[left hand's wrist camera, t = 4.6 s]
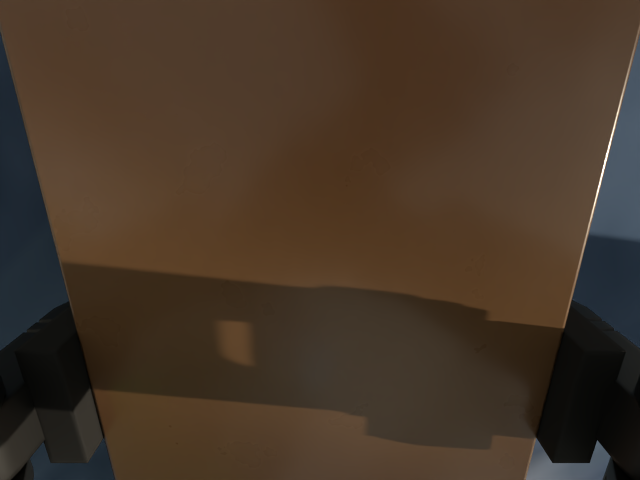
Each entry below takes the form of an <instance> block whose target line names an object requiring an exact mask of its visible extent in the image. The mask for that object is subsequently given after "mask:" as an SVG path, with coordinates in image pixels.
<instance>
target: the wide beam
mask: <svg viewBox="0 0 640 480" xmlns="http://www.w3.org/2000/svg"><path fill="white" fill-rule="evenodd" d="M0 32H1V36H2V40H3V44H4V48H5V52H6V56H7V60H8V63H9V67H10V71H11V75H12V79H13V83H14V87H15V91H16V95H17V99H18V103H19V107H20V110H21V114H22V118H23V122H24V126H25V130H26V134H27V138H28V142H29V146H30V150H31V153H32V157H33V161H34V165H35V169H36V173H37V177H38V181H39V185H40V189H41V193H42V197H43V200H44V204H45V208H46V212H47V216H48V220H49V224H50V228H51V232H52V236H53V240H54V243H55V247H56V251H57V255H58V259H59V263H60V267H61V271H62V275H63V279H64V283H65V287H66V290H67V294H68V298H69V302H70V306H71V310H72V314H73V318H74V322H75V326H76V330H77V333H78V337H79V341H80V345H81V349H82V353H83V357H84V361H85V365H86V369H87V373H88V377H89V380H90V384H91V388H92V392H93V396H94V400H95V404H96V408H97V412H98V416H99V420H100V423H101V427H102V431H103V435H104V439H105V443H106V447H107V451H108V455H109V459H110V463H111V467H112V470H113V474H114V478H115V480H526V476H527V472H528V468H529V464H530V460H531V456H532V452H533V449H534V445H535V441H536V437H537V433H538V429H539V425H540V421H541V417H542V413H543V409H544V406H545V402H546V398H547V394H548V390H549V386H550V382H551V378H552V374H553V370H554V367H555V363H556V359H557V355H558V351H559V347H560V343H561V339H562V335H563V331H564V328H565V324H566V320H567V316H568V312H569V308H570V304H571V300H572V296H573V292H574V288H575V285H576V281H577V277H578V273H579V269H580V265H581V261H582V257H583V253H584V249H585V246H586V242H587V238H588V234H589V230H590V226H591V222H592V218H593V214H594V210H595V207H596V203H597V199H598V195H599V191H600V187H601V183H602V179H603V175H604V171H605V167H606V164H607V160H608V156H609V152H610V148H611V144H612V140H613V136H614V132H615V128H616V125H617V121H618V117H619V113H620V109H621V105H622V101H623V97H624V93H625V89H626V86H627V82H628V78H629V74H630V70H631V66H632V62H633V58H634V54H635V50H636V47H637V43H638V39H639V35H640V0H0Z"/></svg>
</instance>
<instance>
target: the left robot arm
mask: <svg viewBox="0 0 640 480" xmlns="http://www.w3.org/2000/svg"><path fill="white" fill-rule="evenodd" d="M103 438H104V435H103V431H102V427H101V423H100V420H99V416H98V412H97V408H96V404H95V400H94V396H93V392H92V388H91V384H90V380H89V377H88V373H87V369H86V365H85V361H84V357H83V353H82V349H81V345H80V341H79V337H78V333H77V330H76V326H75V322H74V318H73V314H72V310H71V306H70V302H67V303H65V304H62V305H60V306H58V307H56V308H54V309H53V310H52V311H50V312H49V313H48V314H47V315H45V316H44V317H43V318H41V319H40V320H39V323H35V324H34V325H33V326H31V327H30V328H29V329H28V330H27V332H26V333H22V334H21V335H20V336H19V337H17V338H16V339H15V340H14V341H12V342H11V343H10V344H9V345H7V346H6V347H5V348H3V349H2V350H1V351H0V480H33V478H34V472H33V466H32V463H31V460H30V457H31V456H32V455H33V454H34V453H35V451H36V450H37V449H38V448H39V446H40V445H41V444H42V443H43V441H44V444H45V447H46V450H47V453H48V456H49V459H50V462H51V463H88V462H89V460H90V458H91V457H92V455H93V454H94V452H95V451H96V449H97V448H98V446H99V444H100V443H101V441H102V440H103ZM536 438H537V439H538V441H539V442H540V444H541V446H542V447H543V449H544V450H545V452H546V453H547V455H548V457H549V458H550V460H551V461H552V463H590V460H591V457H592V454H593V451H594V448H595V445H596V442H597V440H598V441H599V443H600V444H601V445H602V446H603V447H604V449H605V450H606V451H607V452H608V454H609V455H610V456H611V457H610V460H609V463H608V466H607V469H606V472H605V474H604V477H603V480H640V349H639V348H638V347H637V346H636V345H634V344H633V343H632V342H631V341H629V340H628V339H627V338H625V337H624V336H623V335H622V334H620V333H619V332H618V331H614V328H613V327H611V326H610V325H609V324H608V323H606V322H605V321H602V319H601V318H600V317H599V316H597V315H596V314H595V313H593V312H592V311H591V310H590V309H588V308H587V307H585V306H583V305H581V304H579V303H577V302H575V301H573V300H571V304H570V308H569V312H568V316H567V320H566V324H565V328H564V331H563V335H562V339H561V343H560V347H559V351H558V355H557V359H556V363H555V367H554V370H553V374H552V378H551V382H550V386H549V390H548V394H547V398H546V402H545V406H544V409H543V413H542V417H541V421H540V425H539V429H538V433H537V437H536Z"/></svg>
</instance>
